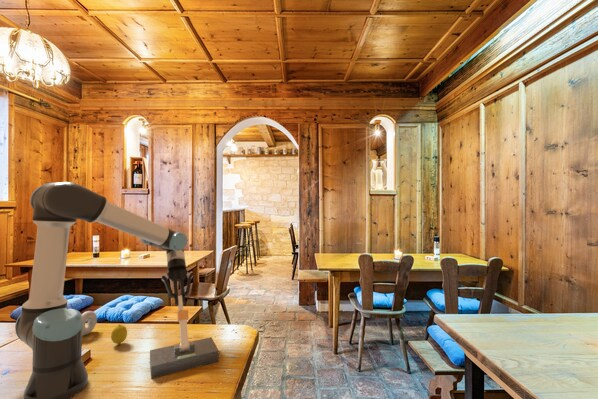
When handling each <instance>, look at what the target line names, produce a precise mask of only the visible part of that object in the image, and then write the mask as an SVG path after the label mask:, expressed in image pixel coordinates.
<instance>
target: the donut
mask: <svg viewBox="0 0 598 399" xmlns="http://www.w3.org/2000/svg"><path fill="white" fill-rule="evenodd" d="M81 315H82V321H83V324H82V325H83V326H82V337H84V336H87V335H89V334H90V333H91V332H92V331H93V330H94V329H95V327H96V325H97V323H98V318H97V317H98V316H97V314H96V312H94V311H92V310H87V311H84V312H83V313H81Z"/></svg>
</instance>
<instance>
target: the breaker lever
mask: <svg viewBox="0 0 598 399" xmlns="http://www.w3.org/2000/svg"><path fill="white" fill-rule="evenodd" d="M176 316H177V317H176V321H177V322H178V323H179V340H180V351H182V350H186V349H189V335H188V334H189V333H188V320H189V309H183V311H178V310H177V312H176Z"/></svg>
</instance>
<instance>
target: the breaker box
mask: <svg viewBox="0 0 598 399" xmlns="http://www.w3.org/2000/svg"><path fill="white" fill-rule="evenodd" d="M188 342H189V349H186V350H182V351H180V343H175V344H172V345H168V346H164V347H159V348H154V349H150V350H149V365H150V378H151V379H157V378H161V377H164V376H168V375H172V374H176V373H180V372H183V371H187V370H190V369H195V368H198V367H202V366H208V365H210V364H214V363H218V362H219V361H220V360H219V358H220V356H219V348H218V347H217V345H216V343H215V342H214V339H213V337H212V336H211V337H205V338H201V339H200V338H199V339H197V340H192V341H191V340H190V341H189V340H188Z"/></svg>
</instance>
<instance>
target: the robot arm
mask: <svg viewBox="0 0 598 399" xmlns="http://www.w3.org/2000/svg"><path fill="white" fill-rule="evenodd" d="M30 206H31V208H32V209H33V210H32V218H31V220H32V221H31V222H33V224H34V225H36V226H37V229H36V230H37V231H36V238H35V247H34V255H33V262H32V263H33V265H32V272H31V280H30V288H29V289H30V290H29V298H28V300H26V301H25V302H24V303H23V304H22V305H21V310H20V312H21V313H20V314H19V316H18V317H17V319H16V322H15V326H14V331H15V335H16V336H17V337H18V339H19V340H20V341H22V342H23V343H24V344H25V345H26V346H28V347H29V348H31V349H32V368H31V369H32V371H31V375H30V378H29V380H28V382H27V385H26V387H25V390H24V392H23V399H70V398H72V397H74V396H76V395H77V394H79V393H81V392H82V391H83V390H84V389H85V388H86V386H87V385H88V382H89V378H88V377H89V375H88V371H87V369H86V366H85V364H84V362H83V359H82V350H83V349H82V345H83V343H82V342H83V336H82V326H83V325H82V324H83V321H82V315H81V314H82V313H81V312H80V311H79V310H77V309H76V308H68V300H69V299H67V298H65V297H64V288H65V287H64V286H65V280H66V279H65V277H66V268H67V260H68V251H69V250H68V249H69V242H70V233H71V232H70V231H71V227H72V226H73V225H75V224H76V223H77V220H81V221H84V222H88V223H90V224H93V223H95V222H96V223H99V224H101V225H104V226H106V227H110V228H112V229H115V230H117V231H121V232H123V233H126V234H128V235H130V236H134V237H137V238H139V239H140V241H141V243H142V244H144V245H147V246H151V247H153V248H157V249H159V250H161V251H165V252H166V263H167V266H166V267H167V272H166V275H162V276H161V282H162V283H163V284H164V286H165V289H166V291H167V294H168V297H169V299H173V300H174V305H175V306H177V312H178V311H183V310H184V305H185V304H186V297H187V296H189V294H190V290H191V289H190V287H191V282H192V279H193V277H194V273H193V272H188V269H187V266H186V265H187V264H186V257H185V247H186V246H187V244H188V236H187V235H186V234H185V233H183V232H180V231H175V230H172V229H170V228H167V227H166V226H164V225H161V224H160V223H157V222H154V221H153V220H150V219H147V218H145V217H143V216H140V214H136V213H134V212H131V211H129V210H127V209H125V208H123V207H120V206H118V205H117V204H114V203H111V202H109V201H108V198H107V197H105V196H103V195H101V194H99V193H97V192H95V191H93V190H91V189H90V188H86V187H85V186H83V185H81V184H78V183H75V182H71V181H70V182H69V181H61V182H60V181H59V182H48V183H45V184H42V185H40V186H39V187H38V188H36V189H35V190H34V191H33V192H32V193H31V195H30ZM186 278H187V284H186V288H185V283H184V281H185V279H186ZM169 280H170V281H172V285H173V288H172V287H171V284H170V282H169ZM178 282H179V288H178ZM178 289H179V290H180V295H179V291H178Z"/></svg>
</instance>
